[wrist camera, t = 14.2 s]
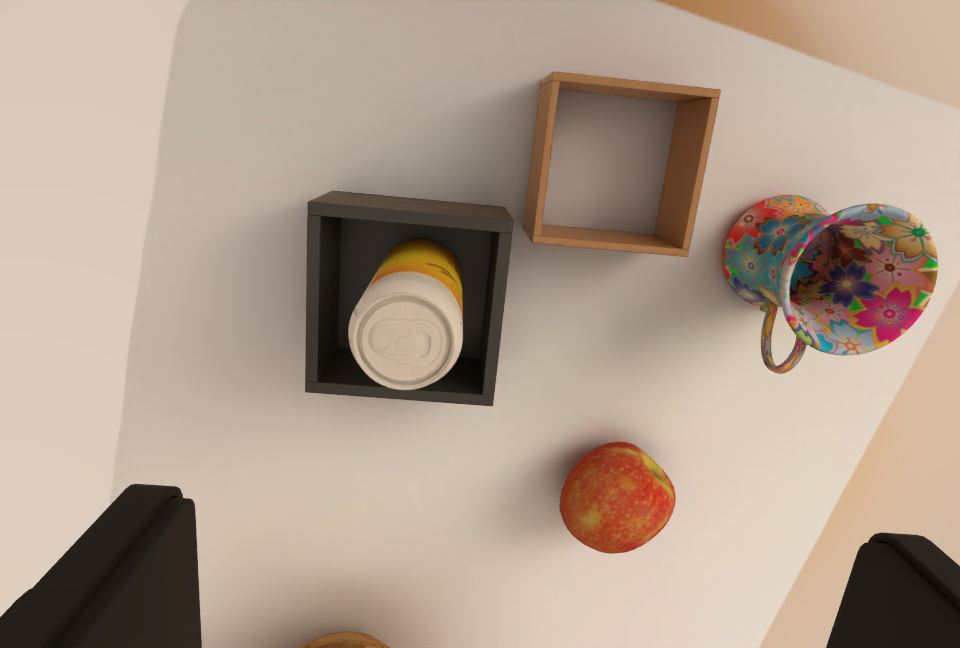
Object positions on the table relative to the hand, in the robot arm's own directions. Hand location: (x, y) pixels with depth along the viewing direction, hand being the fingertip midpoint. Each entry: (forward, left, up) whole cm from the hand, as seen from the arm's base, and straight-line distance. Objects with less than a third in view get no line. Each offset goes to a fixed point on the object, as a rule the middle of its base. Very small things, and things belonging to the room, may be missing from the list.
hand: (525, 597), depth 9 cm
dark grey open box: (+5, -4, -38) cm, 39 cm away
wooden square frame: (-5, +9, -38) cm, 40 cm away
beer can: (+4, -3, -38) cm, 38 cm away
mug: (+1, +23, -38) cm, 45 cm away
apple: (+20, +13, -38) cm, 45 cm away
